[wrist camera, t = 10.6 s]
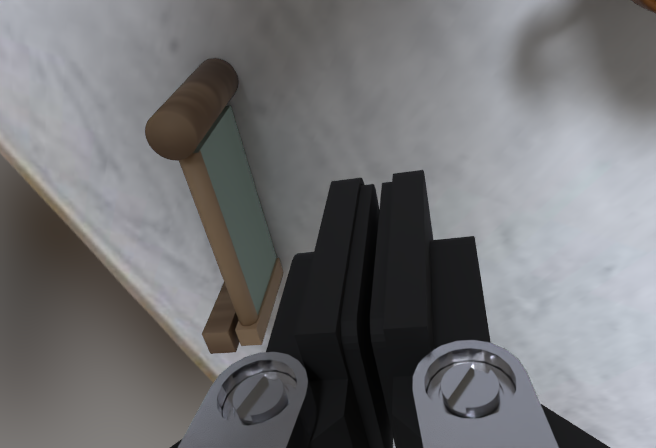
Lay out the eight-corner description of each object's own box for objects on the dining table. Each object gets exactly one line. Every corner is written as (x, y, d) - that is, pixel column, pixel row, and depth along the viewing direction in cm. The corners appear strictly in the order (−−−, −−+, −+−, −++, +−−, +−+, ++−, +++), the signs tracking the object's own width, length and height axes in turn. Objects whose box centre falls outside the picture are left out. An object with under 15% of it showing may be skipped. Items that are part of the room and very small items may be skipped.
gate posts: (192, 59, 40) (139, 112, 32) (234, 57, 39) (190, 111, 32) (237, 273, 50) (205, 353, 42) (271, 274, 50) (245, 355, 42)
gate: (212, 108, 41) (171, 163, 34) (233, 105, 41) (196, 159, 34) (265, 274, 49) (241, 345, 42) (283, 272, 49) (261, 344, 42)
